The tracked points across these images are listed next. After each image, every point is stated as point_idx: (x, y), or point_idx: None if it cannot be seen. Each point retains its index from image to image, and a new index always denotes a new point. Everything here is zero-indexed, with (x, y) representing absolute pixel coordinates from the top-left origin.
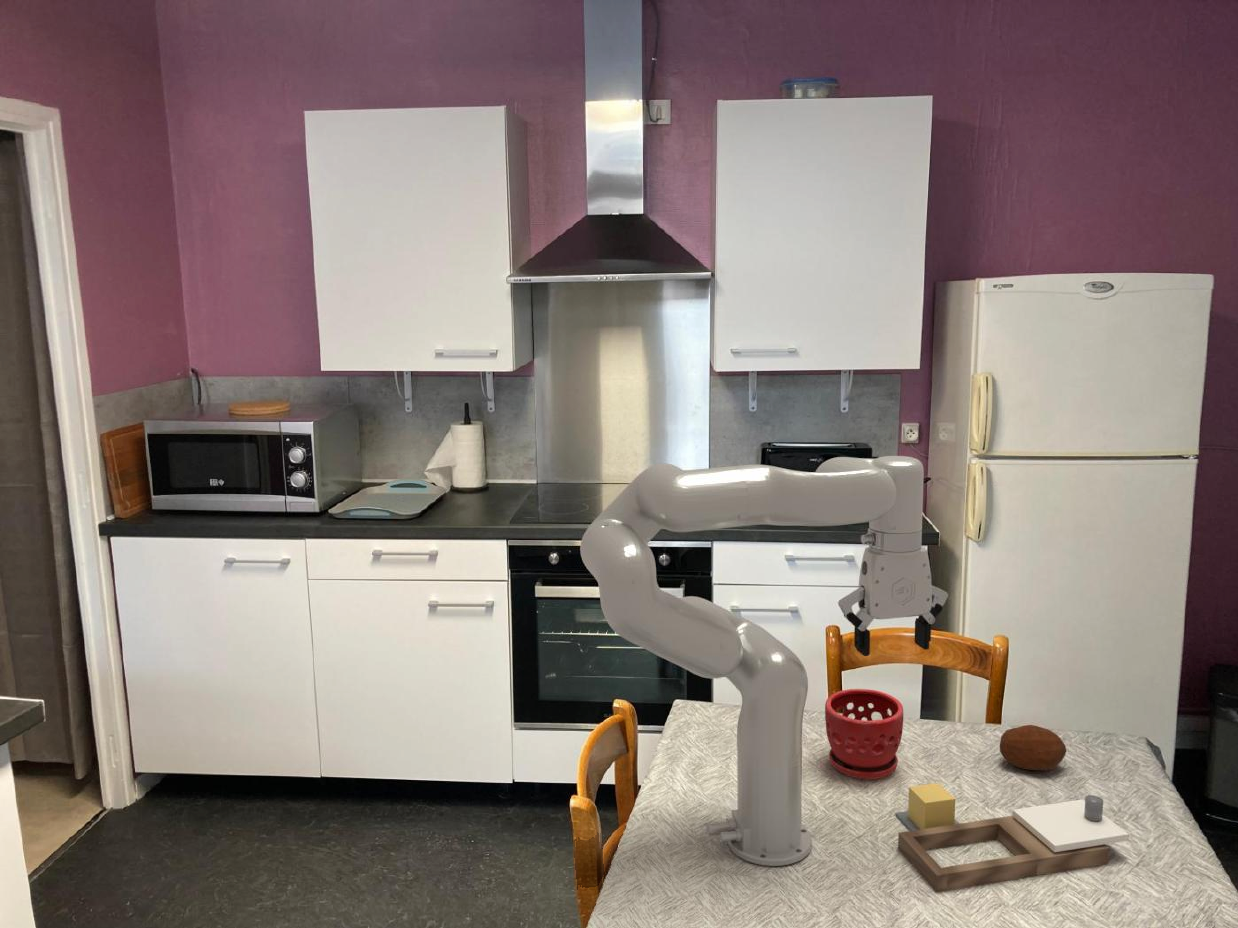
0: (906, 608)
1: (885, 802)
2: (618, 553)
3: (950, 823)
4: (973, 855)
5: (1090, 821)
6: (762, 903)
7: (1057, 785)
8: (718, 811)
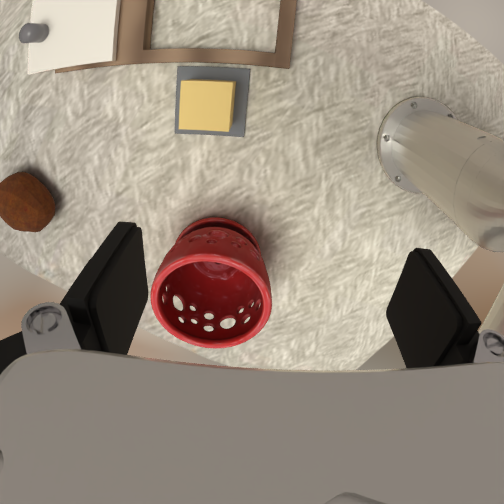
0: (290, 448)
1: (238, 167)
2: None
3: (195, 79)
4: (202, 26)
5: (48, 25)
6: (473, 61)
7: (29, 149)
8: (427, 222)
